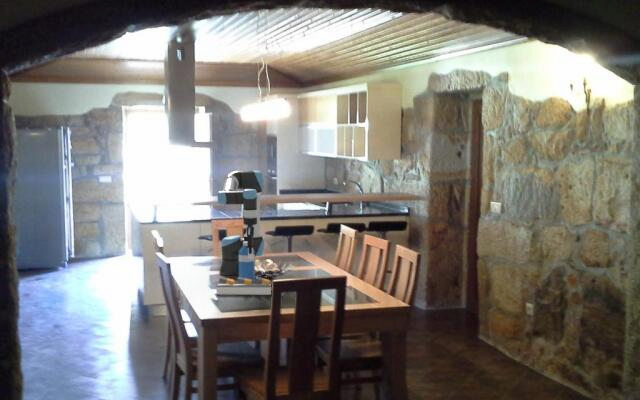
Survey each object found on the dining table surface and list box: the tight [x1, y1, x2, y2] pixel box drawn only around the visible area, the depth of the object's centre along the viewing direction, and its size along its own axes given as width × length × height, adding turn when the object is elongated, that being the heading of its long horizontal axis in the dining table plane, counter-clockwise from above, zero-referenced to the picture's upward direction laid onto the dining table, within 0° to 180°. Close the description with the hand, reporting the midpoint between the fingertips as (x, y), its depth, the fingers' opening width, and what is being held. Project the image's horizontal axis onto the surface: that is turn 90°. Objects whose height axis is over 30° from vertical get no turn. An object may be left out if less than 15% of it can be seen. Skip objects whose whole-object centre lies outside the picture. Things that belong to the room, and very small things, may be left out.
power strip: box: [216, 280, 273, 296], centre depth 385 cm, size 10×30×5 cm, turn 90°
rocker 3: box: [255, 276, 271, 285], centre depth 384 cm, size 5×8×2 cm, turn 90°
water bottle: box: [238, 241, 256, 281], centre depth 404 cm, size 9×9×25 cm
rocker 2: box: [236, 276, 252, 285], centre depth 385 cm, size 5×8×2 cm, turn 90°
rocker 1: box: [218, 276, 236, 285], centre depth 385 cm, size 5×8×2 cm, turn 90°
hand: (250, 259), depth 384 cm, fingers closed
